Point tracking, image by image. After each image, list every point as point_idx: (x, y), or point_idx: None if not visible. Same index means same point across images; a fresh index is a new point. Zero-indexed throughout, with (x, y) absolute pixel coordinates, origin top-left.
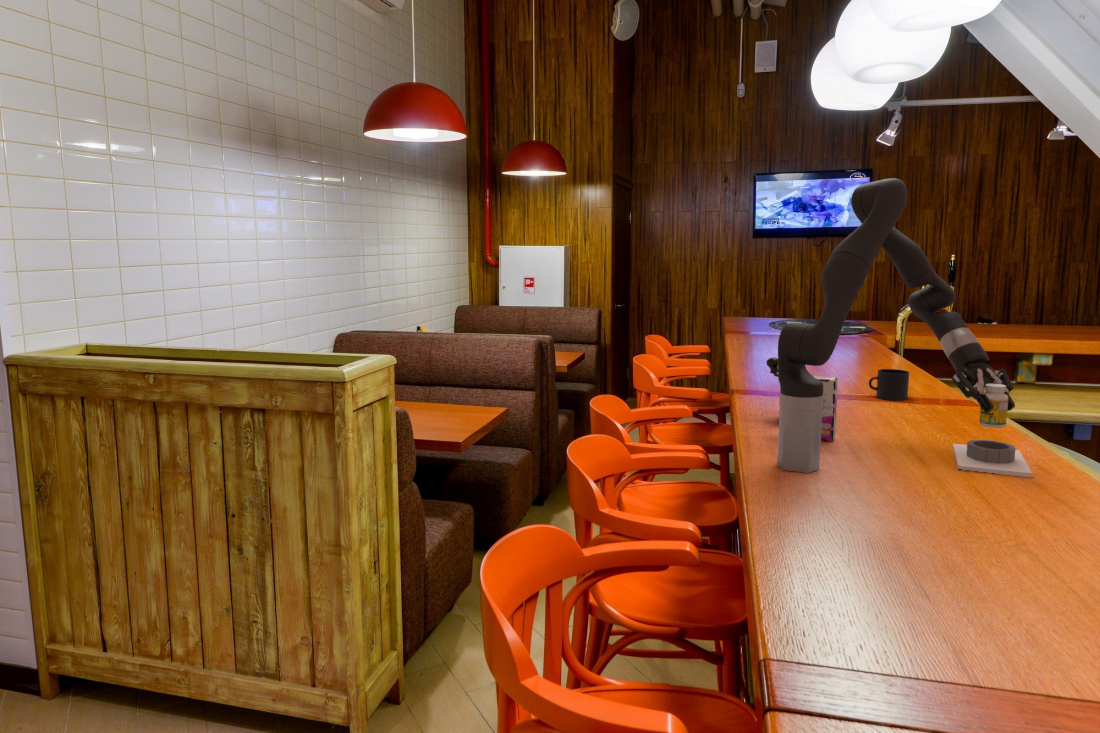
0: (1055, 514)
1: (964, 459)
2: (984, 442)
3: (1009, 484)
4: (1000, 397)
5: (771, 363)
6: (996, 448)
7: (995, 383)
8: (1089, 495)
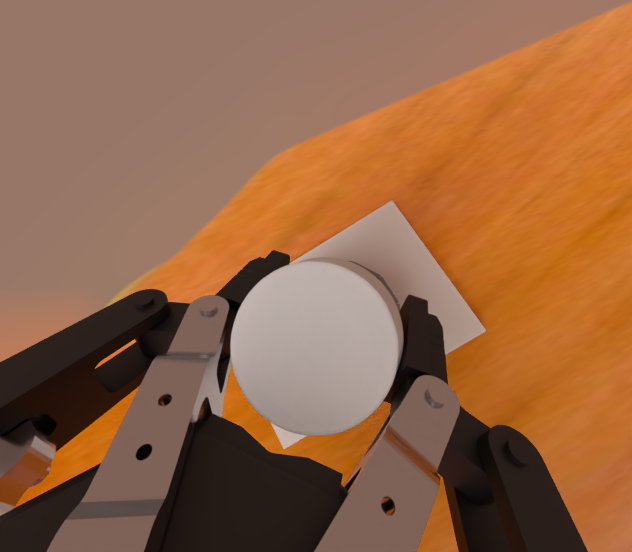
0: (598, 69)
1: None
2: None
3: (483, 206)
4: (368, 274)
5: None
6: None
7: (208, 393)
8: (412, 96)
